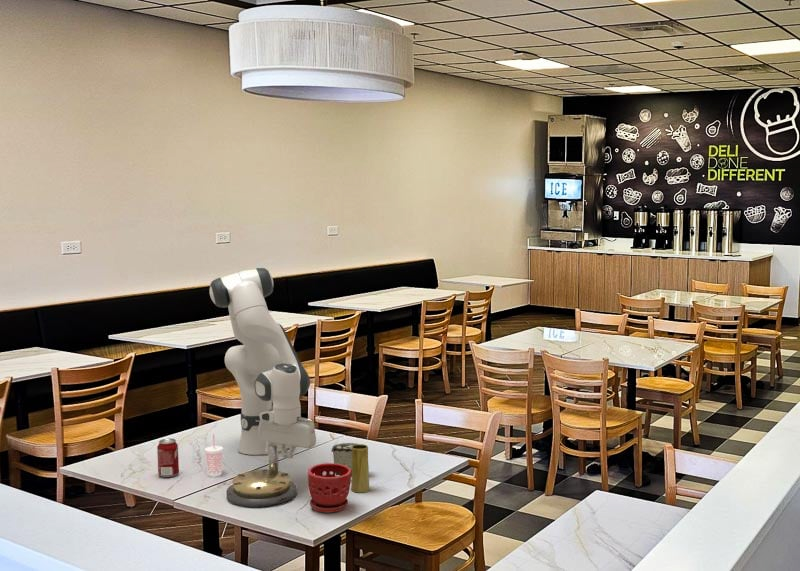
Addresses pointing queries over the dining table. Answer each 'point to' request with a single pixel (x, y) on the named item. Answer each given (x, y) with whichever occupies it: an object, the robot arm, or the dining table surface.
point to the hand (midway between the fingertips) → (287, 457)
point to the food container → (343, 455)
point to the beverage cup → (214, 459)
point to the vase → (360, 469)
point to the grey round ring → (261, 502)
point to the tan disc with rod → (263, 479)
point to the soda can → (168, 458)
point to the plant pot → (329, 487)
